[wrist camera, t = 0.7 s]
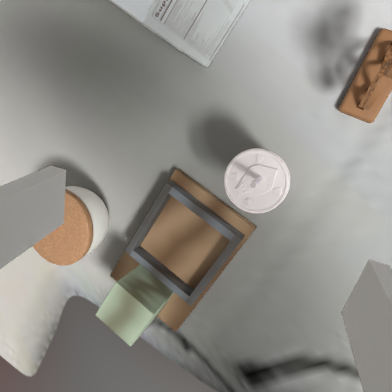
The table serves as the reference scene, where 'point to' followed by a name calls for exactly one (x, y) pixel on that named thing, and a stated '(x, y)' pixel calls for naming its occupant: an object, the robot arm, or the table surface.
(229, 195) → the smoothie
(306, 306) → the table surface
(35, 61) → the table surface
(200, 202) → the board
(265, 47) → the table surface
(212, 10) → the supplement box
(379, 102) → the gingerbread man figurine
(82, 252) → the lidded jar
